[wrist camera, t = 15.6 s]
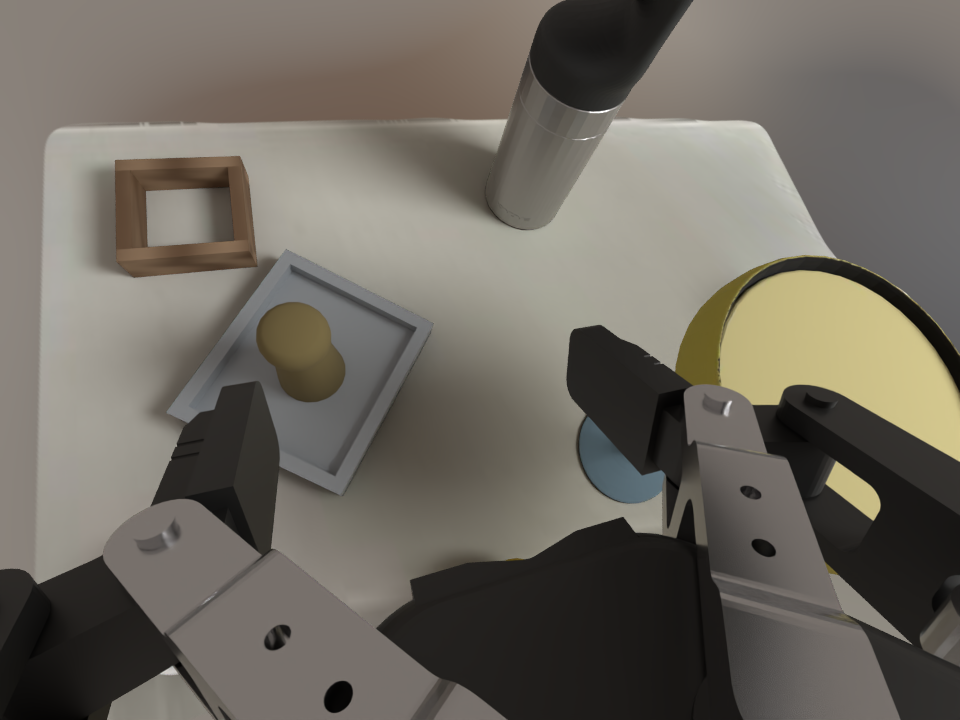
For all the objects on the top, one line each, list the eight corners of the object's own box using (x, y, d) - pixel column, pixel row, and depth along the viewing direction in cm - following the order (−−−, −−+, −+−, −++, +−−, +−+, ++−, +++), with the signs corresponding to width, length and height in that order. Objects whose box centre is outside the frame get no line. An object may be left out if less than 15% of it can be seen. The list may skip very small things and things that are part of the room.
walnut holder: (248, 176, 48) (239, 156, 45) (257, 266, 45) (249, 250, 42) (131, 181, 45) (115, 160, 42) (134, 277, 42) (116, 261, 40)
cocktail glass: (534, 371, 48) (678, 246, 25) (681, 365, 52) (925, 253, 29) (558, 552, 43) (769, 612, 20) (720, 530, 47) (1054, 558, 24)
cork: (312, 328, 43) (291, 273, 33) (359, 368, 43) (352, 326, 33) (262, 372, 41) (223, 329, 31) (312, 416, 41) (289, 386, 31)
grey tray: (290, 261, 46) (286, 249, 44) (430, 332, 47) (433, 323, 45) (178, 417, 40) (165, 412, 37) (343, 495, 40) (340, 495, 38)
